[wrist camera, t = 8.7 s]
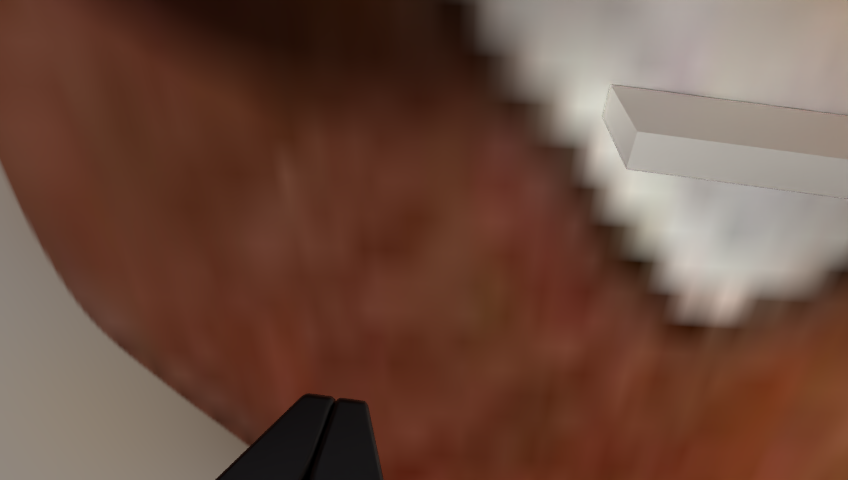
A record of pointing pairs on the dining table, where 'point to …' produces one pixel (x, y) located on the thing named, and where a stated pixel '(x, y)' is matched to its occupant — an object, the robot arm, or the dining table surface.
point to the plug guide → (729, 141)
